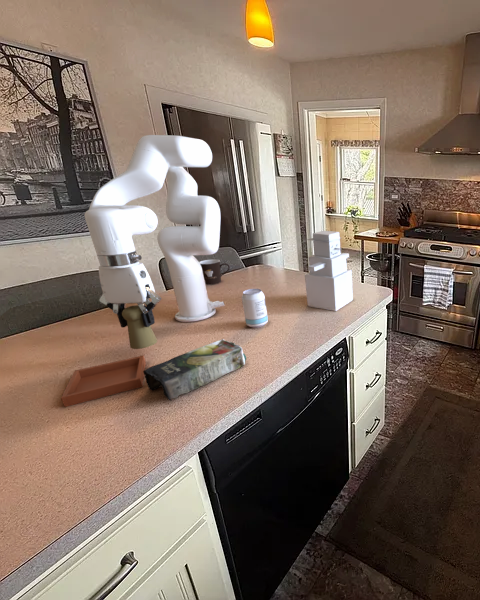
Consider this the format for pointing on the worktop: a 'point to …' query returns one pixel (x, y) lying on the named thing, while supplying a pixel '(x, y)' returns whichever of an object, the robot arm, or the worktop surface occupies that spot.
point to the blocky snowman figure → (328, 273)
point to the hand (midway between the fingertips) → (138, 324)
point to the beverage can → (254, 308)
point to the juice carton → (195, 368)
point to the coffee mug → (212, 271)
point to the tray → (104, 380)
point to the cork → (138, 328)
